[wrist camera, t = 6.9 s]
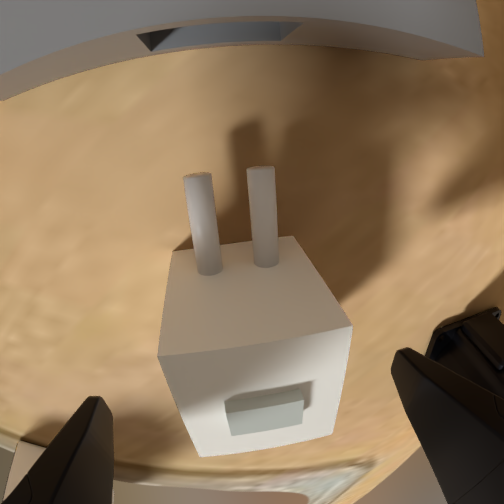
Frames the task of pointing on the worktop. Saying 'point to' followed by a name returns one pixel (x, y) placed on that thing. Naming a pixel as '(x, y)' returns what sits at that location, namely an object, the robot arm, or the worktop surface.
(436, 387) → the robot arm
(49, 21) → the power strip
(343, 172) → the worktop surface
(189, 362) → the charger
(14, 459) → the medicine bottle
